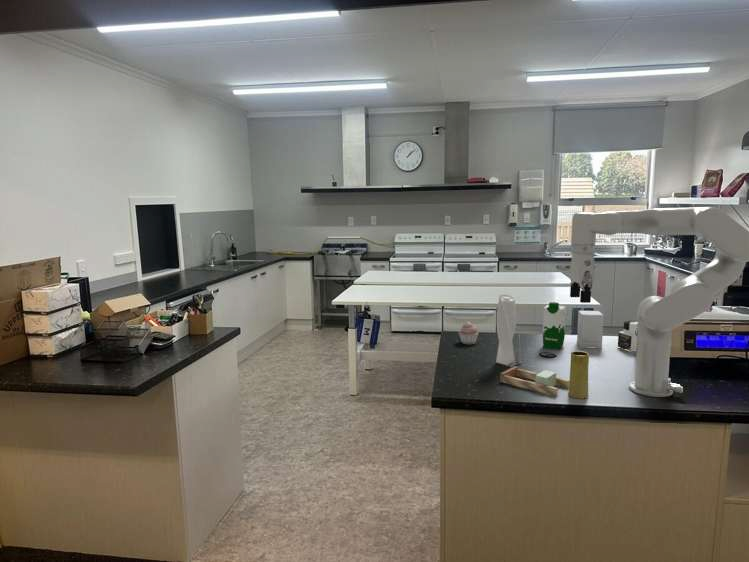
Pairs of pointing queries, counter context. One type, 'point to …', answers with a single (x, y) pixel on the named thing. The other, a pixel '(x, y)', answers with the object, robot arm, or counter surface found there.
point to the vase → (579, 375)
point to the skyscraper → (507, 332)
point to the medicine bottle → (628, 336)
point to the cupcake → (468, 333)
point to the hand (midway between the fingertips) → (579, 299)
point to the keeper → (546, 378)
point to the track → (514, 371)
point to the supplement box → (590, 329)
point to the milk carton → (553, 326)
